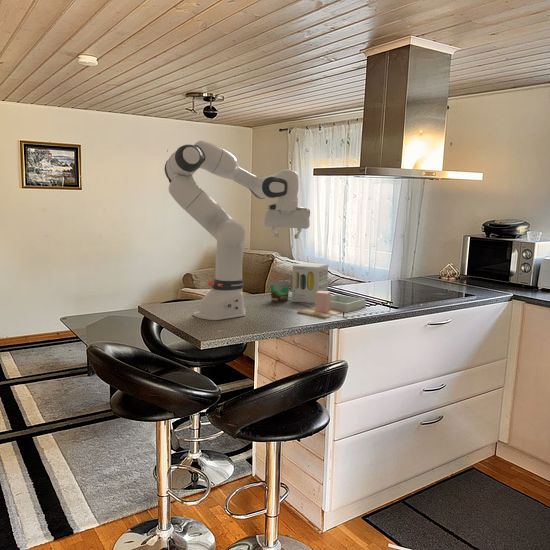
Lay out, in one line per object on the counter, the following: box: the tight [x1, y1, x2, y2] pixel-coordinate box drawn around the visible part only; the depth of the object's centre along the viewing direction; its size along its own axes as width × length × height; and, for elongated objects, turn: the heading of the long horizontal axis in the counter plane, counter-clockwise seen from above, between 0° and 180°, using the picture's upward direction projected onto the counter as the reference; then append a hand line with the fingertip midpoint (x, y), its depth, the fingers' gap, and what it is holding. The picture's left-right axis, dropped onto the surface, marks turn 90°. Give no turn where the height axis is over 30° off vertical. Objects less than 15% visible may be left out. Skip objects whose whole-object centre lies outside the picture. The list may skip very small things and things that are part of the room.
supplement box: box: [291, 261, 329, 304], centre depth 238 cm, size 13×13×18 cm
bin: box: [330, 293, 367, 313], centre depth 225 cm, size 15×15×4 cm
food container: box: [269, 277, 292, 303], centre depth 237 cm, size 12×6×10 cm, turn 143°
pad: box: [297, 306, 345, 320], centre depth 214 cm, size 14×14×1 cm
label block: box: [314, 290, 332, 312], centre depth 215 cm, size 5×5×8 cm
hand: (286, 237), depth 226 cm, fingers open, 8 cm apart
